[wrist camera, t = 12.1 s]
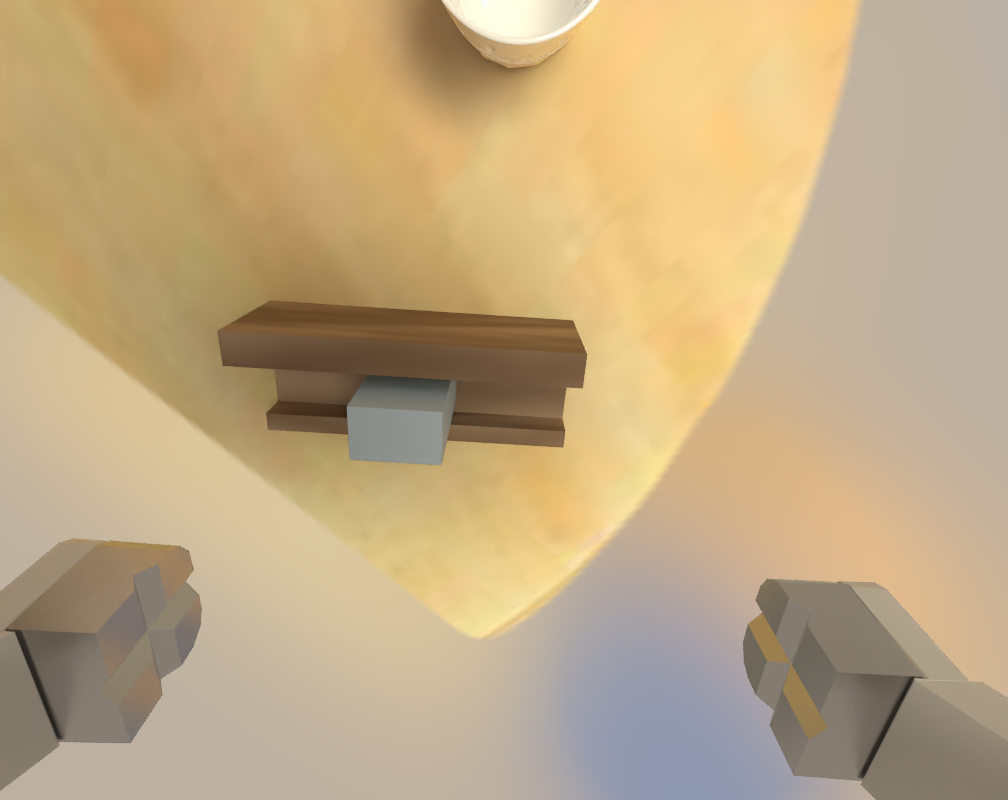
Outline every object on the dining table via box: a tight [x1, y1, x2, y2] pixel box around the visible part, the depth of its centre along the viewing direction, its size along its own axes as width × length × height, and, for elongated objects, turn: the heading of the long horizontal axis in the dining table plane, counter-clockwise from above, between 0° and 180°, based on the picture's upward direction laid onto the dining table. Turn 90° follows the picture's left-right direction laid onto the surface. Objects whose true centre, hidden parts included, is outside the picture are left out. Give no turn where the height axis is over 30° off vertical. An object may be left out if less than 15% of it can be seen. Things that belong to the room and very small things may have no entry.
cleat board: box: [218, 301, 587, 447], centre depth 34 cm, size 8×20×7 cm, turn 86°
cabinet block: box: [347, 375, 457, 465], centre depth 33 cm, size 4×5×9 cm
